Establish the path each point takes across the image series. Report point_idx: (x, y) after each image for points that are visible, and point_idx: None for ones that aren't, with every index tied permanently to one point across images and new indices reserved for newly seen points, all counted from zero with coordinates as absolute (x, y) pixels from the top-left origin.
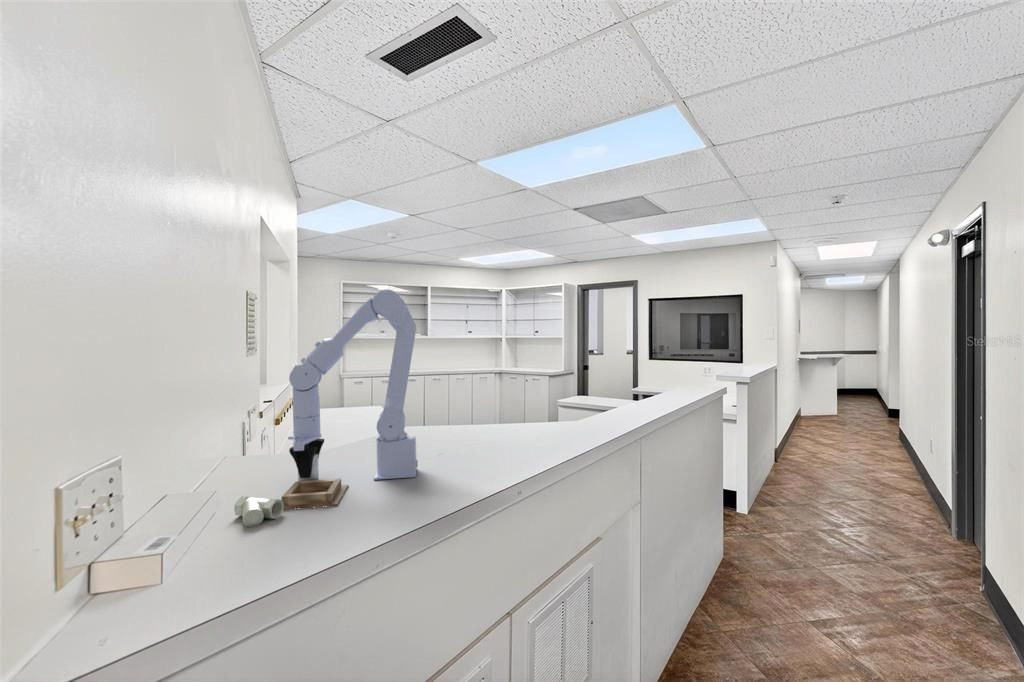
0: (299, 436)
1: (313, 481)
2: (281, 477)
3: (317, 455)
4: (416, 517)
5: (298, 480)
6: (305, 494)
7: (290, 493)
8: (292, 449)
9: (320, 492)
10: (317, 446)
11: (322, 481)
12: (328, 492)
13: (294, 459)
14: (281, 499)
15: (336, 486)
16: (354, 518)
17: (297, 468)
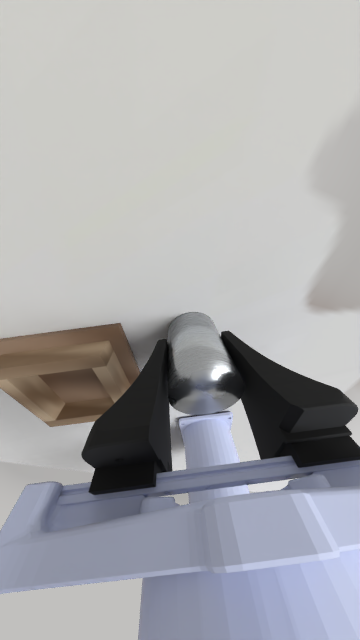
0: (143, 597)
1: (109, 387)
2: (252, 236)
3: (203, 414)
4: (57, 461)
5: (177, 321)
6: (23, 401)
7: (11, 378)
8: (84, 459)
9: (47, 415)
10: (257, 431)
11: (113, 398)
12: (52, 423)
13: (127, 390)
14: (35, 338)
15: (92, 420)
16: (27, 434)
17: (150, 358)
